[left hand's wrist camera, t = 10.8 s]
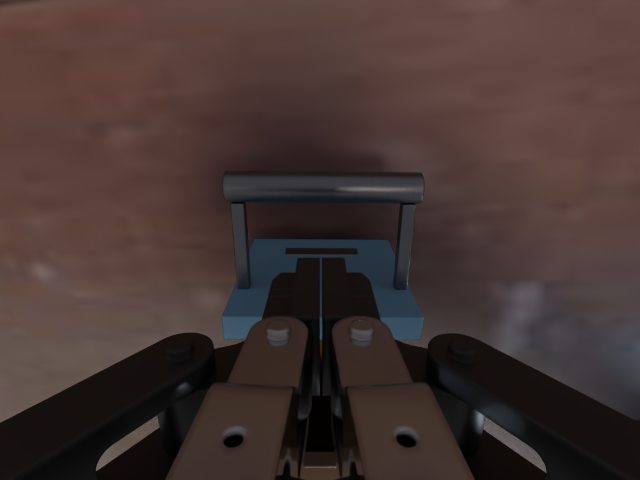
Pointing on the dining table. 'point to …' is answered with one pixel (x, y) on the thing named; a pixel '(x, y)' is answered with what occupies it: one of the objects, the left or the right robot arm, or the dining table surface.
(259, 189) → the drawer
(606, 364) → the dining table surface
